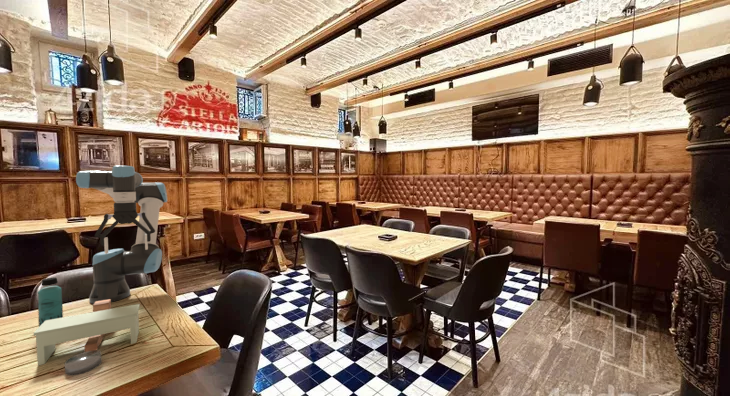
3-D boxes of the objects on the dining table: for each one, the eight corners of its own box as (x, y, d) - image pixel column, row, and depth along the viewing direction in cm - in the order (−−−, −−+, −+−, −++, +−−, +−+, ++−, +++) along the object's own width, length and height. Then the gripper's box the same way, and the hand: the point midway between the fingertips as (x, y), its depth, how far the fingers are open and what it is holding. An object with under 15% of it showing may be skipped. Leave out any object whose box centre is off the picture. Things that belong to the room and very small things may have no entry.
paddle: (96, 326, 116) (95, 301, 115) (111, 323, 118) (110, 299, 118) (81, 354, 97) (80, 324, 96) (99, 350, 99) (98, 320, 99)
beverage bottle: (39, 330, 113) (36, 278, 112) (63, 324, 118) (61, 274, 117) (38, 336, 108) (35, 282, 108) (64, 329, 113) (61, 278, 112)
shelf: (47, 350, 99) (45, 320, 99) (140, 330, 113) (139, 303, 112) (35, 366, 91) (33, 333, 90) (138, 342, 104) (136, 313, 104)
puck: (71, 364, 92) (70, 354, 92) (104, 356, 96) (104, 347, 95) (60, 379, 85) (59, 369, 85) (96, 370, 89) (96, 360, 88)
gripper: (83, 203, 117) (86, 256, 119) (159, 201, 131) (161, 249, 132) (88, 202, 124) (90, 253, 125) (160, 200, 137) (162, 246, 138)
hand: (127, 251), depth 128 cm, fingers open, 13 cm apart
